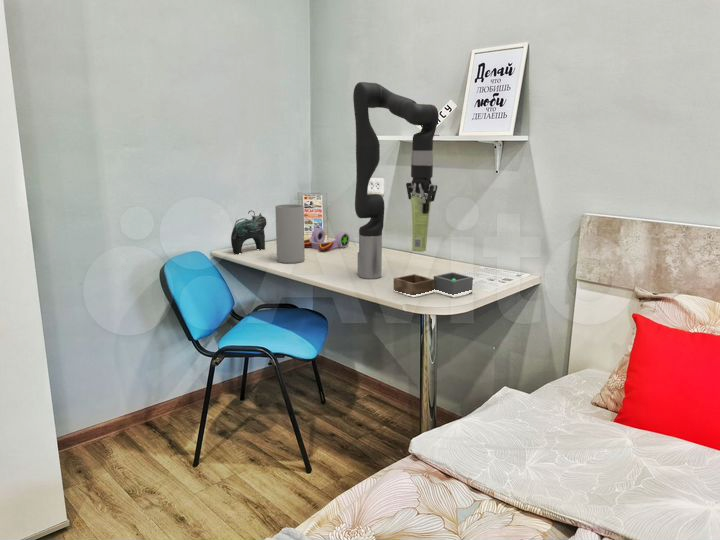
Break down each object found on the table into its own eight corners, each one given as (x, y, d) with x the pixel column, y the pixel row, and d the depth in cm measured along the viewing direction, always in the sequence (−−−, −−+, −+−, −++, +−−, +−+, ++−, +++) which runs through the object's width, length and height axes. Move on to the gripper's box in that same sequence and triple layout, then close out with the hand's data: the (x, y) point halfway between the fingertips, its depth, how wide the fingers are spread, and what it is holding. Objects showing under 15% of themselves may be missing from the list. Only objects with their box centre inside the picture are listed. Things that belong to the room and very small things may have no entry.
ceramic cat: (262, 247, 286) (260, 208, 281) (270, 249, 281) (269, 209, 277) (229, 253, 271) (227, 212, 266) (238, 255, 267) (236, 213, 262)
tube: (418, 248, 206) (420, 195, 202) (429, 250, 203) (432, 196, 199) (409, 250, 202) (410, 196, 198) (420, 252, 199) (422, 197, 194)
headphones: (350, 231, 287) (324, 232, 272) (349, 250, 289) (323, 252, 273) (322, 227, 299) (295, 228, 283) (320, 246, 301) (294, 247, 285)
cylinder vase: (274, 258, 260) (273, 204, 254) (301, 257, 264) (300, 204, 258) (279, 264, 249) (278, 208, 243) (307, 262, 252) (306, 207, 246)
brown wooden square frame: (393, 291, 207) (393, 278, 206) (414, 286, 214) (414, 274, 212) (413, 297, 199) (413, 284, 198) (434, 292, 206) (434, 279, 204)
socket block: (432, 292, 207) (433, 273, 205) (451, 287, 213) (452, 269, 211) (453, 298, 199) (454, 279, 197) (472, 293, 205) (473, 274, 203)
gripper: (400, 163, 199) (399, 211, 203) (428, 165, 188) (427, 216, 192) (415, 162, 203) (414, 210, 207) (444, 164, 192) (442, 214, 196)
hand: (420, 212), depth 199 cm, fingers closed on tube, 4 cm apart
